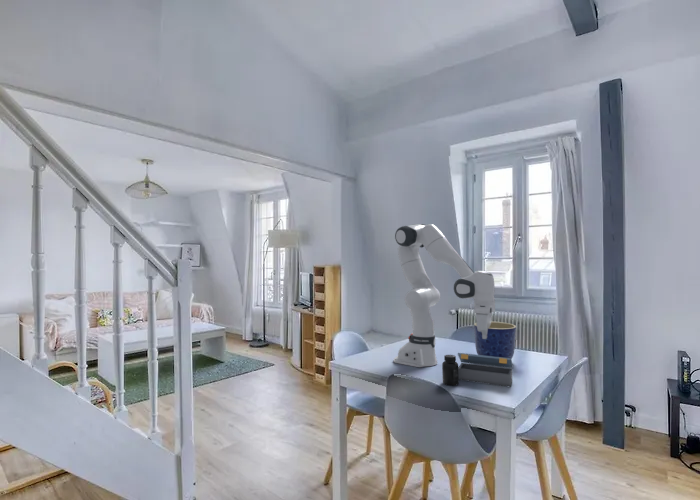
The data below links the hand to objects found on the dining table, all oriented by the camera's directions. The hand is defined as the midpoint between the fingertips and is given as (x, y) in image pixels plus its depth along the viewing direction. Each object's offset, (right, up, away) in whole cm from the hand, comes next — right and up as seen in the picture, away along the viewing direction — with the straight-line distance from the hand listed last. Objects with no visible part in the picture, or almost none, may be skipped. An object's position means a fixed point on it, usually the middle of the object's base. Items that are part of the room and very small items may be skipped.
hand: (484, 338), depth 174 cm
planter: (+15, -19, +29) cm, 38 cm away
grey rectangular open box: (0, -19, 0) cm, 19 cm away
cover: (0, -12, -1) cm, 12 cm away
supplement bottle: (-17, -19, -5) cm, 26 cm away
